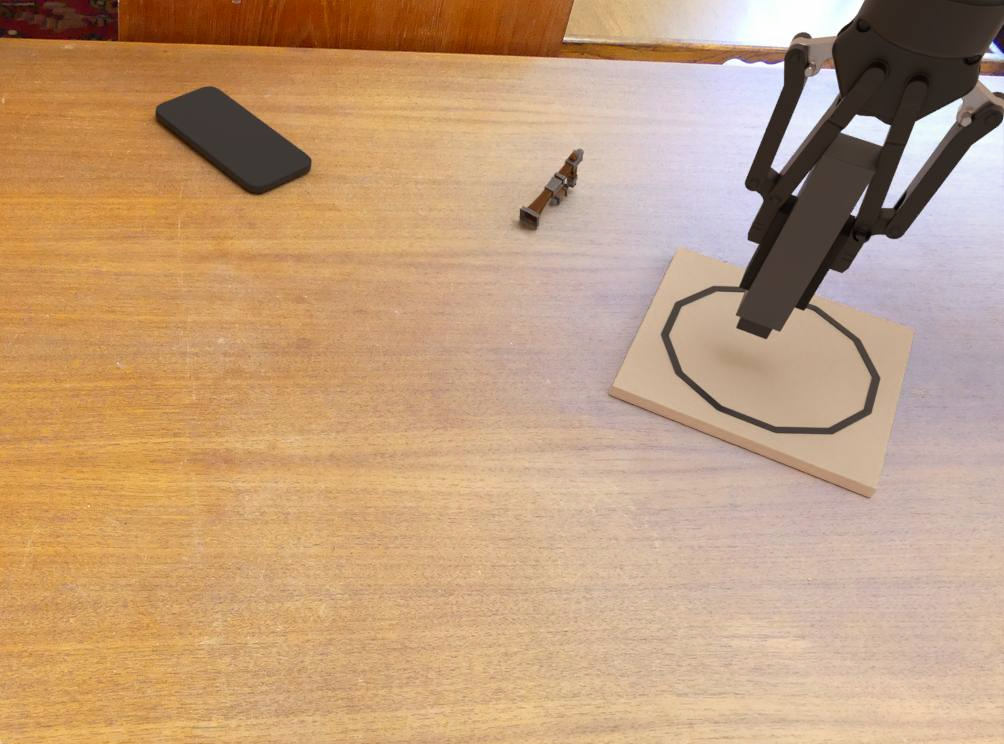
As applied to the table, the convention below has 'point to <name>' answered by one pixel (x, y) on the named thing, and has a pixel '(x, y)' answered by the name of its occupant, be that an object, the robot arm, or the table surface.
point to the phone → (233, 139)
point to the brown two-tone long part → (553, 189)
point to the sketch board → (769, 374)
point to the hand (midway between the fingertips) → (775, 288)
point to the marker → (808, 233)
